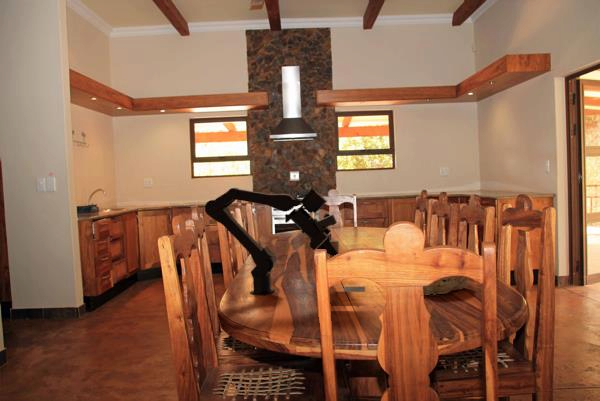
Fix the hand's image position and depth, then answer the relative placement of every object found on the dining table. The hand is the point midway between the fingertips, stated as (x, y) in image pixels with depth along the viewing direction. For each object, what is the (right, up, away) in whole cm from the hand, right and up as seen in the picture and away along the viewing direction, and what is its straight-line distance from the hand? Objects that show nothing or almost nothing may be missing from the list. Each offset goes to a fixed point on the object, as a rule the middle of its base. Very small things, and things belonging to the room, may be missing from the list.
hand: (338, 255), depth 158 cm
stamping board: (+1, -13, +1) cm, 13 cm away
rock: (+34, -12, 0) cm, 36 cm away
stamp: (-1, -5, +1) cm, 6 cm away
